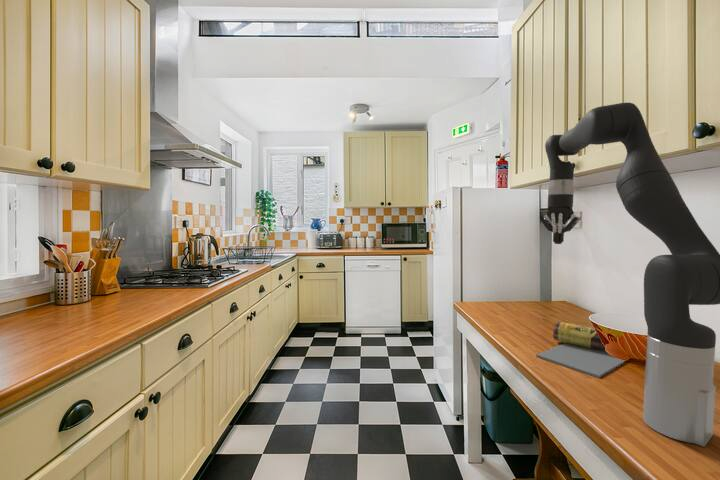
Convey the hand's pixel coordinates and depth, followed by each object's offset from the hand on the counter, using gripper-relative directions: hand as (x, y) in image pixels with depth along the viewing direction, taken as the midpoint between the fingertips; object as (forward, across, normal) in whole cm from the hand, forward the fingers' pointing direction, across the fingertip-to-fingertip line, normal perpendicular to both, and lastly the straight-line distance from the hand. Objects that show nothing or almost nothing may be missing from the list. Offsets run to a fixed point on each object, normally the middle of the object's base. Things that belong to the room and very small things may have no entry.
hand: (558, 243), depth 116 cm
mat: (+32, +16, -15) cm, 38 cm away
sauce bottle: (+28, +4, -9) cm, 30 cm away
